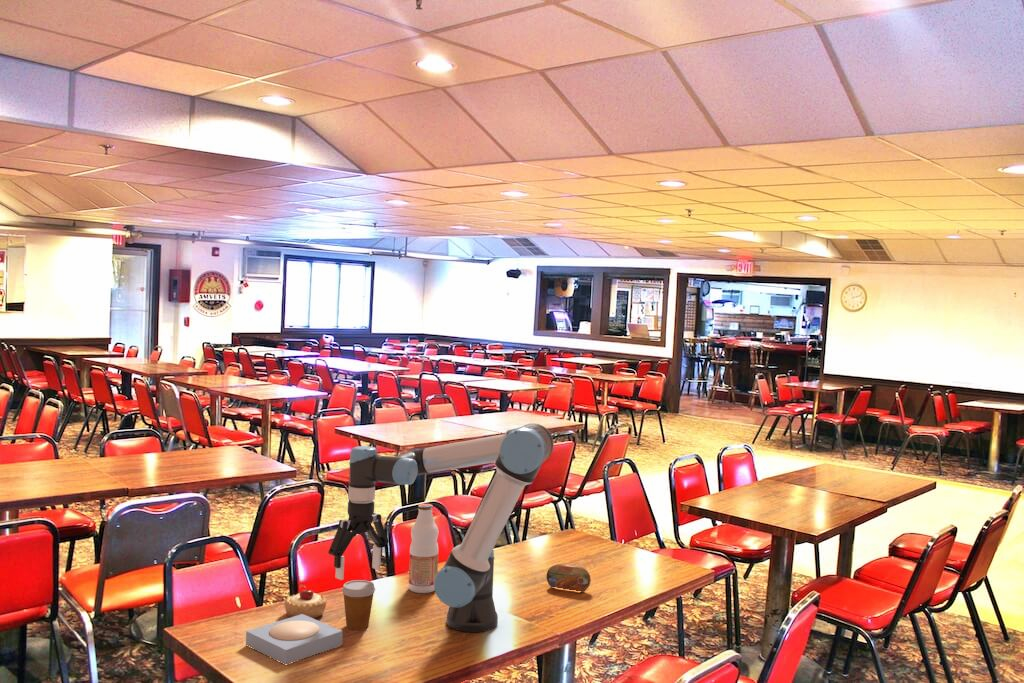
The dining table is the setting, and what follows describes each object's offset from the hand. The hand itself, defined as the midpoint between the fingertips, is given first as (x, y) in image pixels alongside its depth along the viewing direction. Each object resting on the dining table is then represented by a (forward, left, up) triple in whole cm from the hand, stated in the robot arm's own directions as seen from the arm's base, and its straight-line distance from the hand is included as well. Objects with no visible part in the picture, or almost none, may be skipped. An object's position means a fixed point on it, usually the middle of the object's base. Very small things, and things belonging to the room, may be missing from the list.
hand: (358, 573), depth 232 cm
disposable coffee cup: (0, 0, -15) cm, 15 cm away
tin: (-25, -70, -16) cm, 76 cm away
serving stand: (+1, +21, -15) cm, 26 cm away
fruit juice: (+10, -36, -15) cm, 40 cm away
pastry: (+18, +5, -16) cm, 24 cm away
